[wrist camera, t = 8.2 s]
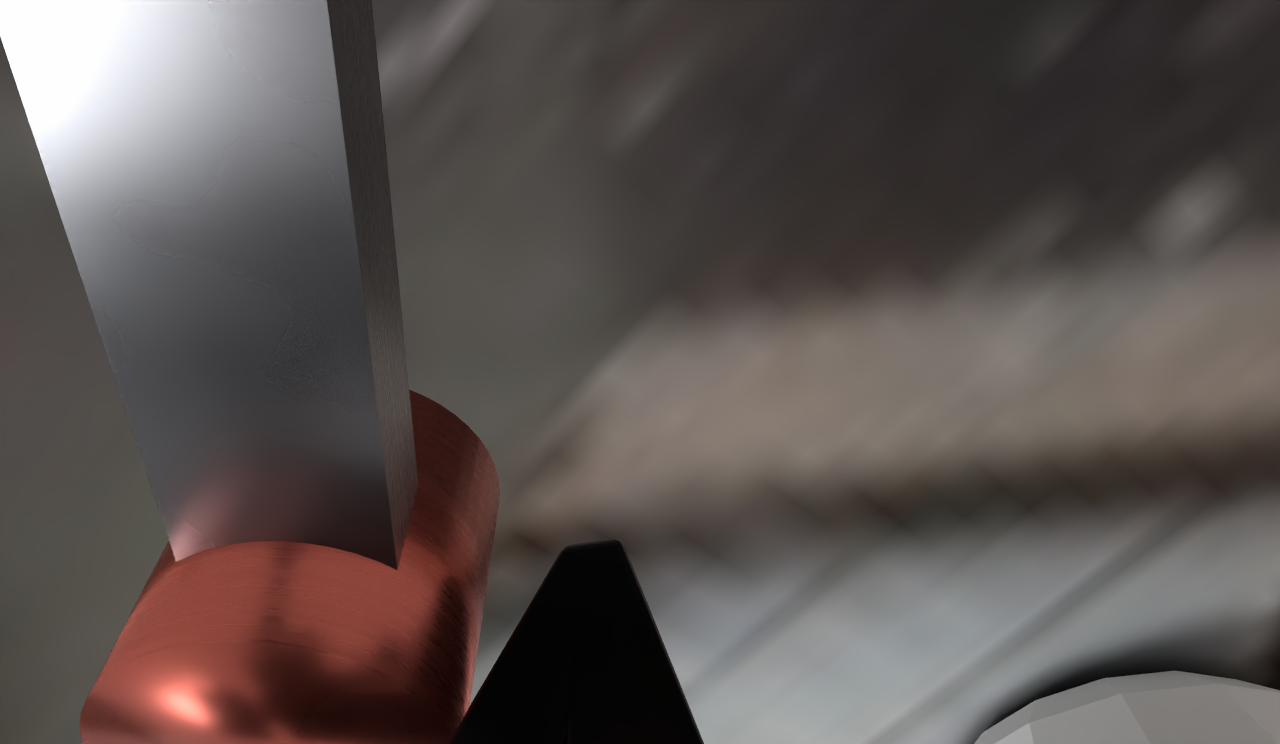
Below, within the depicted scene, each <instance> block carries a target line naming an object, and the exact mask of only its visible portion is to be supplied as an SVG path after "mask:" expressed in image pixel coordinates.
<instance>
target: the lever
mask: <svg viewBox="0 0 1280 744" xmlns="http://www.w3.org/2000/svg"><path fill="white" fill-rule="evenodd" d="M0 36H1V39H2V42H3V45H4V48H5V51H6V54H7V57H8V60H9V63H10V66H11V69H12V72H13V75H14V78H15V81H16V84H17V87H18V90H19V93H20V96H21V99H22V102H23V105H24V108H25V111H26V114H27V117H28V120H29V123H30V126H31V129H32V132H33V135H34V138H35V141H36V144H37V147H38V150H39V153H40V156H41V159H42V162H43V165H44V168H45V171H46V174H47V177H48V180H49V183H50V186H51V189H52V192H53V195H54V198H55V201H56V204H57V207H58V210H59V213H60V216H61V219H62V222H63V225H64V228H65V231H66V234H67V237H68V240H69V243H70V246H71V249H72V252H73V255H74V258H75V260H76V263H77V266H78V269H79V272H80V275H81V278H82V281H83V284H84V287H85V290H86V293H87V296H88V299H89V302H90V305H91V308H92V311H93V314H94V317H95V320H96V323H97V326H98V329H99V332H100V335H101V338H102V341H103V344H104V347H105V350H106V353H107V356H108V359H109V362H110V365H111V368H112V371H113V374H114V377H115V380H116V383H117V386H118V389H119V392H120V395H121V398H122V401H123V404H124V407H125V410H126V413H127V416H128V419H129V422H130V425H131V428H132V431H133V434H134V437H135V440H136V443H137V446H138V449H139V452H140V455H141V458H142V461H143V464H144V467H145V470H146V473H147V476H148V479H149V482H150V485H151V488H152V491H153V494H154V497H155V500H156V503H157V506H158V509H159V512H160V515H161V518H162V521H163V524H164V527H165V530H166V533H167V536H168V539H169V541H168V543H167V545H166V547H165V549H164V551H163V552H162V554H161V556H160V558H159V560H158V562H157V564H156V566H155V568H154V570H153V572H152V574H151V576H150V578H149V580H148V581H147V583H146V585H145V587H144V589H143V591H142V593H141V595H140V597H139V599H138V601H137V603H136V605H135V607H134V608H133V610H132V612H131V614H130V616H129V618H128V620H127V622H126V624H125V626H124V628H123V630H122V632H121V634H120V635H119V637H118V639H117V641H116V643H115V645H114V647H113V649H112V651H111V653H110V655H109V657H108V659H107V661H106V663H105V664H104V666H103V668H102V670H101V672H100V674H99V676H98V678H97V680H96V682H95V684H94V686H93V688H92V690H91V691H90V693H89V695H88V697H87V699H86V702H85V704H84V707H83V709H82V712H81V718H80V732H81V739H82V742H83V744H448V742H449V741H450V739H451V737H452V736H453V734H454V732H455V730H456V729H457V727H458V725H459V724H460V722H461V720H462V719H463V717H464V715H465V713H466V712H467V710H468V708H469V704H470V697H471V690H472V684H473V677H474V670H475V663H476V656H477V650H478V643H479V636H480V629H481V622H482V616H483V609H484V602H485V595H486V588H487V582H488V575H489V568H490V561H491V554H492V548H493V541H494V534H495V527H496V520H497V514H498V507H499V496H500V488H499V479H498V475H497V471H496V468H495V465H494V463H493V461H492V458H491V456H490V454H489V452H488V451H487V449H486V448H485V446H484V445H483V443H482V442H481V440H480V439H479V438H478V437H477V435H476V434H475V433H474V432H473V431H472V430H471V429H470V428H469V427H468V426H467V425H466V424H465V423H464V422H463V421H462V420H460V419H459V418H458V417H457V416H456V415H455V414H453V413H452V412H450V411H449V410H447V409H446V408H444V407H443V406H441V405H440V404H438V403H436V402H434V401H433V400H431V399H429V398H427V397H425V396H423V395H421V394H418V393H416V392H414V391H411V390H409V384H408V373H407V363H406V352H405V342H404V332H403V321H402V311H401V300H400V290H399V280H398V269H397V259H396V248H395V238H394V228H393V217H392V207H391V196H390V186H389V176H388V165H387V155H386V144H385V134H384V124H383V113H382V103H381V92H380V82H379V72H378V61H377V51H376V40H375V30H374V20H373V9H372V0H0Z"/></svg>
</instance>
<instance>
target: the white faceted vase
mask: <svg viewBox="0 0 1280 744" xmlns="http://www.w3.org/2000/svg"><path fill="white" fill-rule="evenodd" d="M974 744H1280V690H1276V689H1272V688H1268V687H1264V686H1261V685H1257V684H1253V683H1249V682H1245V681H1241V680H1237V679H1230V678H1223V677H1216V676H1209V675H1202V674H1195V673H1189V672H1182V671H1167V672H1158V673H1148V674H1139V675H1129V676H1119V677H1110V678H1103V679H1099V680H1096V681H1093V682H1090V683H1087V684H1084V685H1081V686H1078V687H1075V688H1072V689H1069V690H1066V691H1062V692H1059V693H1056V694H1053V695H1050V696H1047V697H1044V698H1041V699H1038V700H1035V701H1033V702H1032V703H1030V704H1028V705H1027V706H1025V707H1023V708H1022V709H1020V710H1019V711H1017V712H1015V713H1014V714H1012V715H1010V716H1009V717H1007V718H1005V719H1004V720H1002V721H1001V722H999V723H997V724H996V725H994V726H992V727H991V728H989V729H987V730H986V731H984V732H983V733H982V734H981V736H980V737H979V738H978V739H977V741H976V742H975V743H974Z"/></svg>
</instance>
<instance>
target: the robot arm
mask: <svg viewBox="0 0 1280 744" xmlns="http://www.w3.org/2000/svg"><path fill="white" fill-rule="evenodd" d="M448 744H704V742H703V740H702V737H701V735H700V732H699V730H698V728H697V725H696V723H695V720H694V718H693V715H692V713H691V710H690V708H689V705H688V703H687V700H686V698H685V695H684V693H683V690H682V688H681V685H680V683H679V680H678V678H677V675H676V673H675V671H674V668H673V666H672V663H671V661H670V658H669V656H668V653H667V651H666V648H665V646H664V643H663V641H662V638H661V636H660V633H659V631H658V628H657V626H656V623H655V621H654V618H653V616H652V614H651V611H650V609H649V606H648V604H647V601H646V599H645V596H644V594H643V591H642V589H641V586H640V584H639V581H638V579H637V576H636V574H635V571H634V569H633V566H632V564H631V561H630V559H629V556H628V554H627V552H626V549H625V547H624V545H623V543H622V541H620V540H619V539H610V540H603V541H595V542H588V543H581V544H574V545H569V546H567V547H565V548H564V549H563V550H562V551H561V552H560V554H559V556H558V557H557V559H556V561H555V562H554V564H553V566H552V568H551V569H550V571H549V573H548V574H547V576H546V578H545V579H544V581H543V583H542V585H541V586H540V588H539V590H538V591H537V593H536V595H535V596H534V598H533V600H532V601H531V603H530V605H529V607H528V608H527V610H526V612H525V613H524V615H523V617H522V618H521V620H520V622H519V624H518V625H517V627H516V629H515V630H514V632H513V634H512V635H511V637H510V639H509V641H508V642H507V644H506V646H505V647H504V649H503V651H502V652H501V654H500V656H499V657H498V659H497V661H496V663H495V664H494V666H493V668H492V669H491V671H490V673H489V674H488V676H487V678H486V680H485V681H484V683H483V685H482V686H481V688H480V690H479V691H478V693H477V695H476V697H475V698H474V700H473V702H472V703H471V705H470V707H469V708H468V710H467V712H466V713H465V715H464V717H463V719H462V720H461V722H460V724H459V725H458V727H457V729H456V730H455V732H454V734H453V736H452V737H451V739H450V741H449V742H448Z"/></svg>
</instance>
